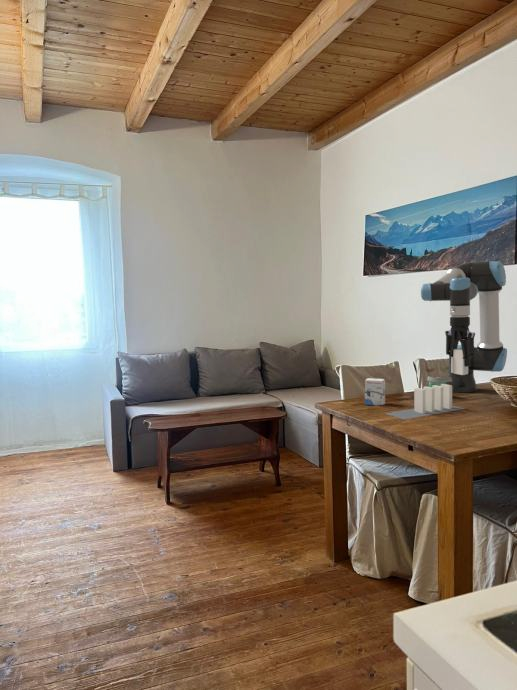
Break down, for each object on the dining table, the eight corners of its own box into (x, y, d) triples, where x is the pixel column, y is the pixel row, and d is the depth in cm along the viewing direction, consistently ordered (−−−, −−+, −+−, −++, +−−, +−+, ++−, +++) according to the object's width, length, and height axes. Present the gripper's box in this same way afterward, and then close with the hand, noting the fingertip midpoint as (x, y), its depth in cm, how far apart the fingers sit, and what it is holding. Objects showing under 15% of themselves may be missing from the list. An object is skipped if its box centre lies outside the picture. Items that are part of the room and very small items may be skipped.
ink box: (364, 405, 242) (364, 380, 240) (367, 402, 246) (366, 378, 245) (383, 406, 238) (383, 380, 237) (385, 403, 243) (385, 378, 241)
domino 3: (434, 407, 229) (434, 385, 228) (443, 409, 225) (443, 387, 224) (432, 408, 229) (432, 385, 228) (440, 410, 224) (440, 387, 223)
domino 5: (456, 373, 216) (456, 348, 214) (465, 374, 211) (465, 350, 210) (453, 373, 215) (453, 349, 214) (462, 375, 210) (462, 350, 209)
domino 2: (426, 409, 227) (426, 386, 226) (434, 411, 223) (434, 388, 222) (423, 409, 227) (423, 386, 226) (431, 411, 222) (431, 388, 221)
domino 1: (417, 410, 225) (417, 387, 224) (425, 412, 221) (425, 389, 220) (414, 411, 225) (414, 388, 223) (422, 413, 220) (422, 390, 219)
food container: (422, 396, 256) (422, 376, 254) (428, 394, 260) (428, 374, 258) (445, 399, 246) (445, 379, 245) (452, 397, 250) (452, 377, 249)
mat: (444, 404, 237) (444, 403, 236) (465, 410, 226) (465, 408, 226) (384, 414, 222) (384, 413, 222) (403, 420, 211) (403, 419, 211)
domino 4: (443, 406, 232) (443, 383, 230) (452, 408, 227) (452, 385, 226) (440, 406, 231) (440, 384, 230) (449, 408, 226) (449, 386, 225)
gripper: (436, 316, 217) (436, 371, 219) (470, 317, 201) (470, 377, 203) (449, 314, 220) (449, 369, 223) (484, 316, 204) (484, 375, 206)
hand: (459, 373), depth 213 cm, fingers closed on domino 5, 5 cm apart
